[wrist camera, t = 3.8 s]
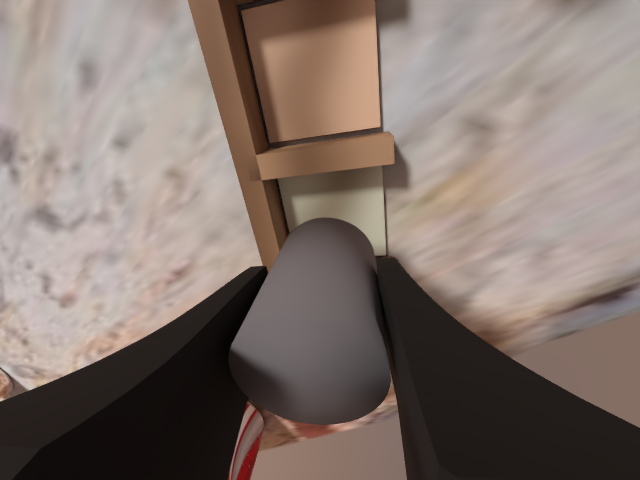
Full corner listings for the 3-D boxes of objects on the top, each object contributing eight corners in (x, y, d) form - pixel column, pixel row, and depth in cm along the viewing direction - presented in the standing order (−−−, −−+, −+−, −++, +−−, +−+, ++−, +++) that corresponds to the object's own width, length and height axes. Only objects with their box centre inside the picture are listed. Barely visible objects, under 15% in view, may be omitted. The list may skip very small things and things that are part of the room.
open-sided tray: (381, -72, 10) (388, -113, 8) (392, 272, 17) (397, 293, 15) (204, -24, 12) (174, -49, 10) (281, 278, 19) (272, 298, 17)
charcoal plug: (380, 292, 12) (399, 423, 7) (295, 301, 13) (258, 425, 8) (367, 209, 10) (378, 305, 5) (270, 226, 11) (202, 322, 6)
